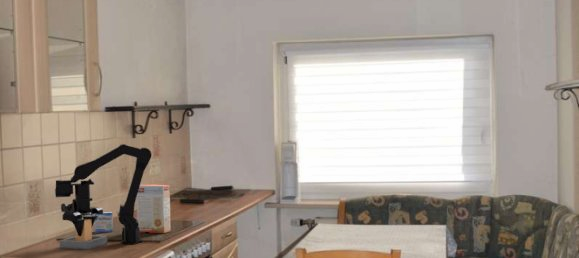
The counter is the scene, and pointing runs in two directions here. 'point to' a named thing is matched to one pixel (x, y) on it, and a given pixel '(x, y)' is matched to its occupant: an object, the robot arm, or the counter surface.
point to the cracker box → (154, 208)
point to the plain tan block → (85, 231)
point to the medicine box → (104, 222)
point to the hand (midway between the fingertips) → (83, 235)
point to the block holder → (83, 243)
